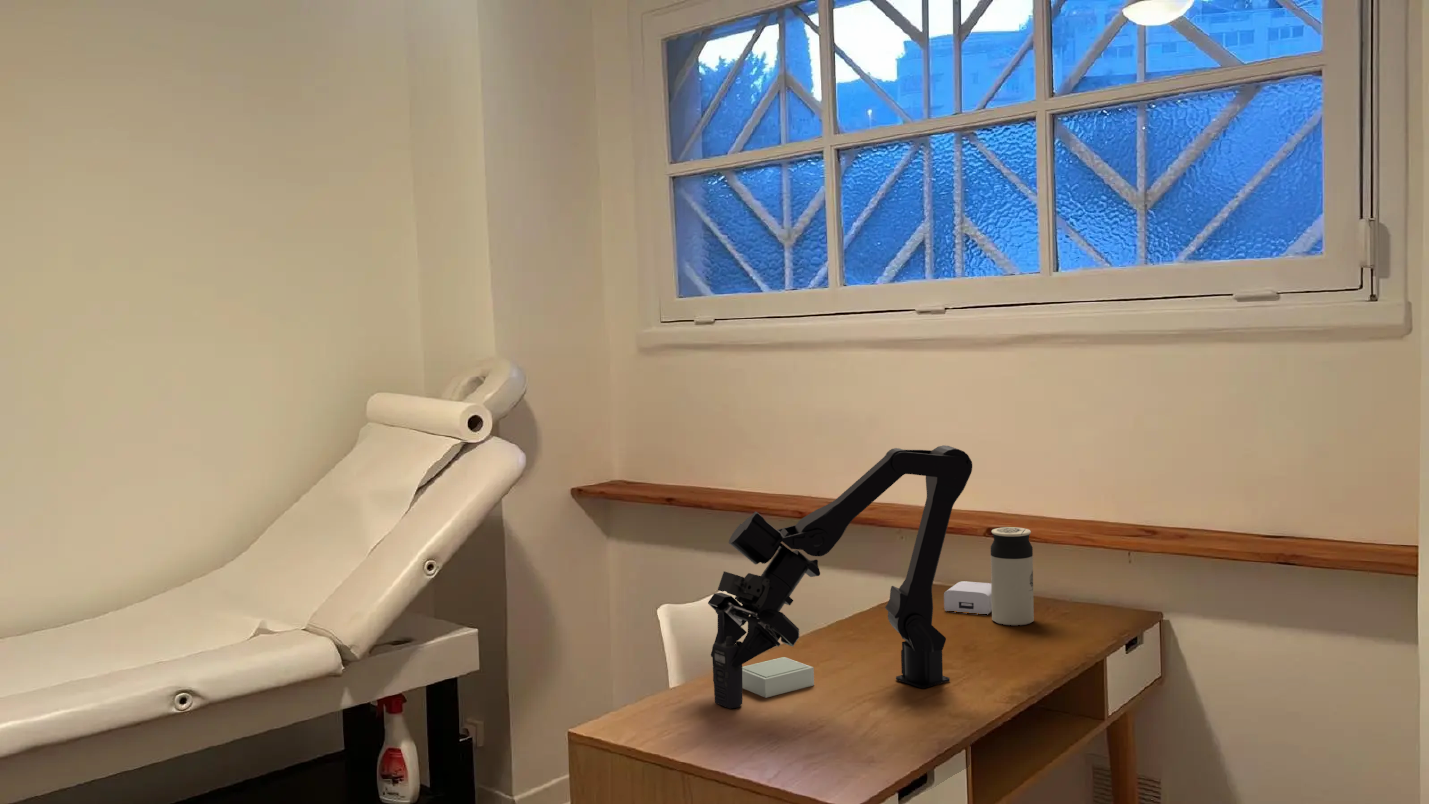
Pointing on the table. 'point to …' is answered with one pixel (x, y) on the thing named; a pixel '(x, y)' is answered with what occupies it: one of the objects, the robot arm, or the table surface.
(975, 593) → the charger
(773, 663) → the sage tile
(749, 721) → the table surface
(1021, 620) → the travel mug
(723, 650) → the two-way radio
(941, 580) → the table surface
